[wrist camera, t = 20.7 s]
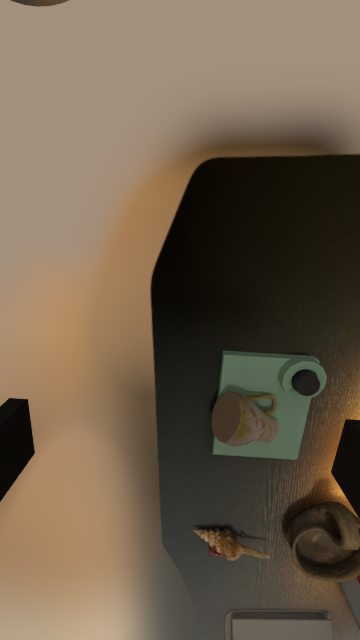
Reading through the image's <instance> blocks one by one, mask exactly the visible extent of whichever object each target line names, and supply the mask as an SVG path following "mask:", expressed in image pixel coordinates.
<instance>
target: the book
mask: <svg viewBox="0 0 360 640" xmlns="http://www.w3.org/2000/svg"><path fill="white" fill-rule="evenodd" d="M225 640H332V617H331V614H329V613H328V612H327V611H322V610H245V609H238V610H232V611H230V612H229V613H228V614H227V616H226V618H225Z"/></svg>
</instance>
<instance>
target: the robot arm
mask: <svg viewBox="0 0 360 640" xmlns="http://www.w3.org/2000/svg"><path fill="white" fill-rule="evenodd" d="M29 413H30V412H29V405H28V399H14V398H9V399H8V400H7V401H6V402H5V403H4V404H3V405H1V406H0V501H1V500H2V499H3V497H4V496H5V494H6V493H7V491H8V490H9V489H10V487H11V486H12V484H13V483H14V482H15V480H16V479H17V477H18V476H19V474H20V473H21V472H22V470H23V469H24V468H25V466H26V465H27V463H28V462H29V460H30V459H31V457H32V456H33V455H34V454H35V451H34V443H33V436H32V428H31V420H30V414H29ZM331 473H332V475H333V476H334V478H335V480H336V481H337V483H338V485H339V486H340V488H341V490H342V491H343V493H344V494H345V496H346V498H347V499H348V501H349V503H350V504H351V506H352V508H353V509H354V511H355V512H356V514H357V516H358V517H359V519H360V420H348V419H346V420H345V424H344V427H343V431H342V435H341V438H340V442H339V445H338V449H337V453H336V456H335V460H334V464H333V467H332V471H331Z"/></svg>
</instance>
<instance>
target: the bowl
mask: <svg viewBox="0 0 360 640" xmlns="http://www.w3.org/2000/svg"><path fill="white" fill-rule="evenodd" d="M285 538H286V540H287V542H288V543H289V545H290V548H291V550H292V558H293V561H294V563H295V564H296V566H297V567H298V568H299V569H300V570H301V571H302V573H304V574H305V575H306V576H308V577H310V578H313V579H315V580H320V581H326V582H346V581H350V580H352V579H354V578H356V577H357V576H359V575H360V520H359V518H358V517H357V516H356V515H354V514H353V513H352V512H351V511H349V510H348V509H347V508H346V507H345V506H344V505H343V504H341V503H339V502H327V503H323V504H320V505H317V506H314V507H312V508H309V509H307V510H305V511H303V512H301V513H300V514H298V515H297V516H296V517H295V518H294V519H293V521H292V522H291V524H290V525H289V527H288V529H287V531H286V534H285Z"/></svg>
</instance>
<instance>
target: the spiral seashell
mask: <svg viewBox="0 0 360 640" xmlns="http://www.w3.org/2000/svg"><path fill="white" fill-rule="evenodd" d="M193 531H194V532H195V533H197V534H198V535H199V536H201V538H202V539H203V538H204V540H205V542H208V541H209V545H208V549H209V548H210V549H209V552H210V553H211V554H212V555H214V556H218V557H226V558H227V559H228V560H236V559H238V558H239V557H240V555H242V554H249V555H252V556H255V557H258V558H267V559H269V558H270V557H271V555H267V554H264V553H260V552H258V551H256V550H254V549H252V548H249V547H246V546H243V545H241V544H240V543H238V542H237V540H236V538H235V536H234V535H233V534H232V532H230V530H229V529H228V528H225V529H224V530H223V531H222V532H221V531H220V530H219V529H215V530H214V531H213V530H212V529H209V530H208V531H207V530H193ZM240 535H241V537H244V536H245V534H244V532H242V533H241V534H240ZM211 546H213V549H215V551H216V552H215V551H213V550H212V549H211ZM210 550H211V551H210ZM212 552H213V553H212Z"/></svg>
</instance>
